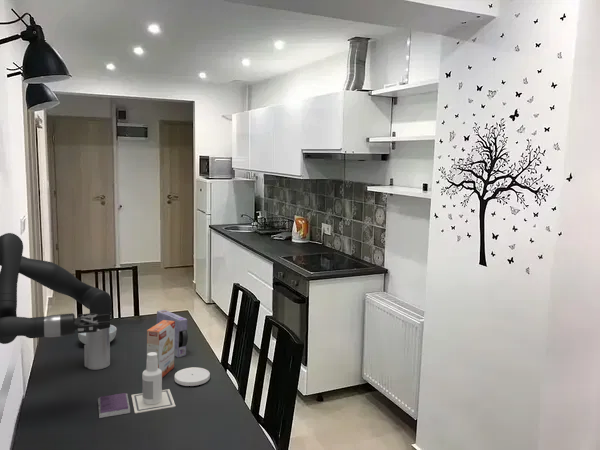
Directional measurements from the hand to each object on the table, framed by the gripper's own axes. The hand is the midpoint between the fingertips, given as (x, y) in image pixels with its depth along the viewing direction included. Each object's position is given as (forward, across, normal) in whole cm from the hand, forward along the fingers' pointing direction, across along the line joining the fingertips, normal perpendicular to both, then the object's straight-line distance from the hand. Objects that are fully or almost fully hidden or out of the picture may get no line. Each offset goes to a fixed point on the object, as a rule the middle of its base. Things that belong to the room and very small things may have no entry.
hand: (109, 320), depth 175 cm
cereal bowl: (-3, +59, +30) cm, 67 cm away
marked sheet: (+14, -7, +30) cm, 34 cm away
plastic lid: (+31, +6, +30) cm, 44 cm away
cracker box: (+20, +16, +30) cm, 40 cm away
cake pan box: (+28, +38, +30) cm, 57 cm away
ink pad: (+1, -7, +30) cm, 31 cm away
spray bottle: (+14, -7, +30) cm, 34 cm away
